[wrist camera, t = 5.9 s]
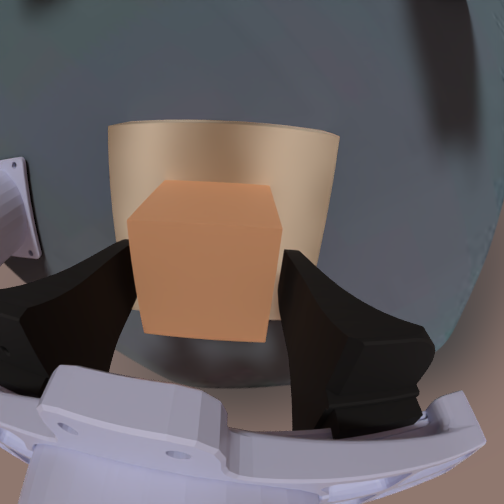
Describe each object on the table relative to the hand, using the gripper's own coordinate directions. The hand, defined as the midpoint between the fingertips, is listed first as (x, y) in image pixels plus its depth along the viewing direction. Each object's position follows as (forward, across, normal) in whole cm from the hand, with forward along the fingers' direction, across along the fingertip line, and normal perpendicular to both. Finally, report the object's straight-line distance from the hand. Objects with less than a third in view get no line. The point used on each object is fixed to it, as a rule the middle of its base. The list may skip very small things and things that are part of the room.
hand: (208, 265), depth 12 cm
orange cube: (+3, 0, 0) cm, 3 cm away
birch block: (+6, 0, 0) cm, 6 cm away
